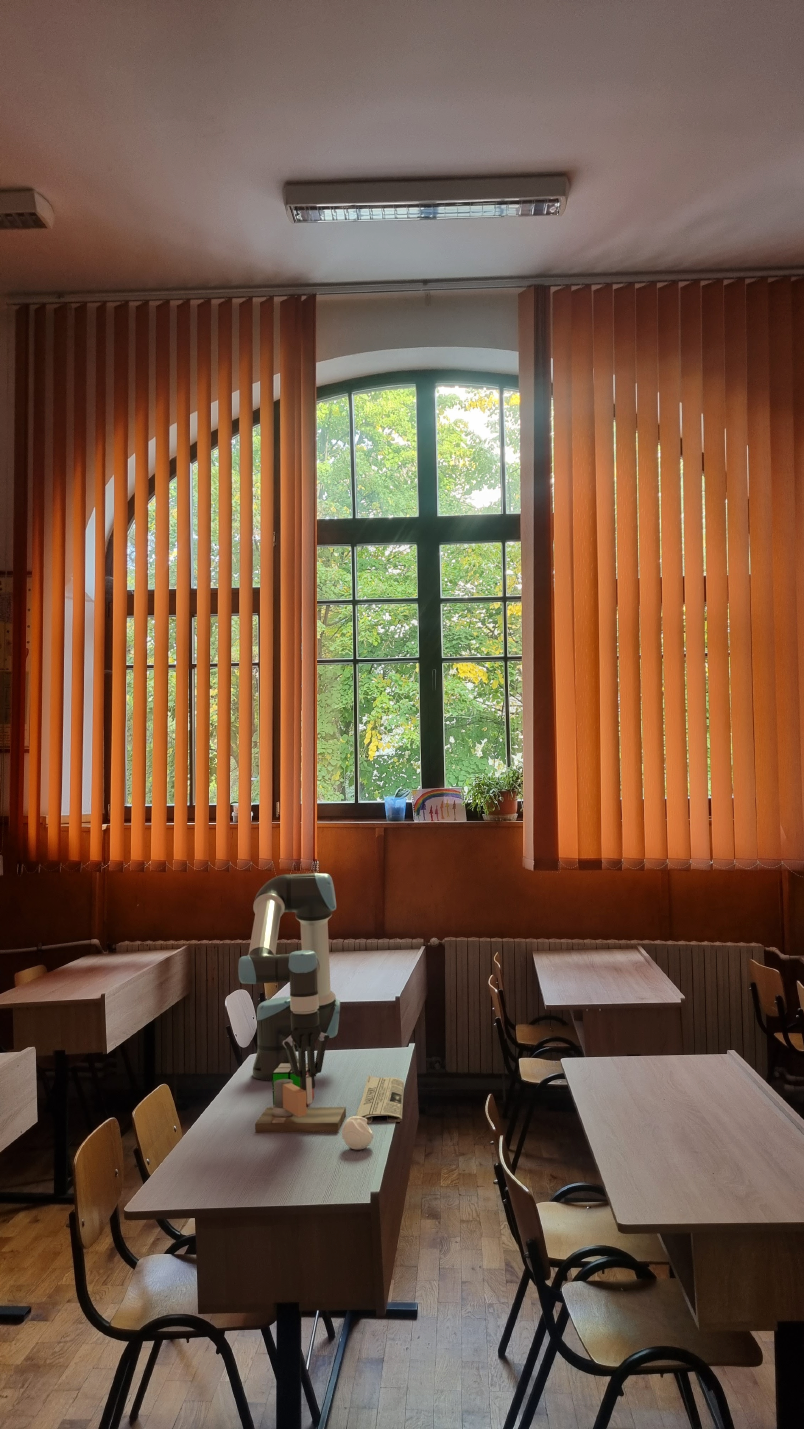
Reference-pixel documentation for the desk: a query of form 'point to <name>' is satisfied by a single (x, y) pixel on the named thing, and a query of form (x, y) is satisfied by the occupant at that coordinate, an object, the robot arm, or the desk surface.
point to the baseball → (357, 1133)
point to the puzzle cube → (287, 1076)
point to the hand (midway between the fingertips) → (308, 1102)
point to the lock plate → (301, 1120)
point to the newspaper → (382, 1099)
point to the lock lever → (290, 1097)
